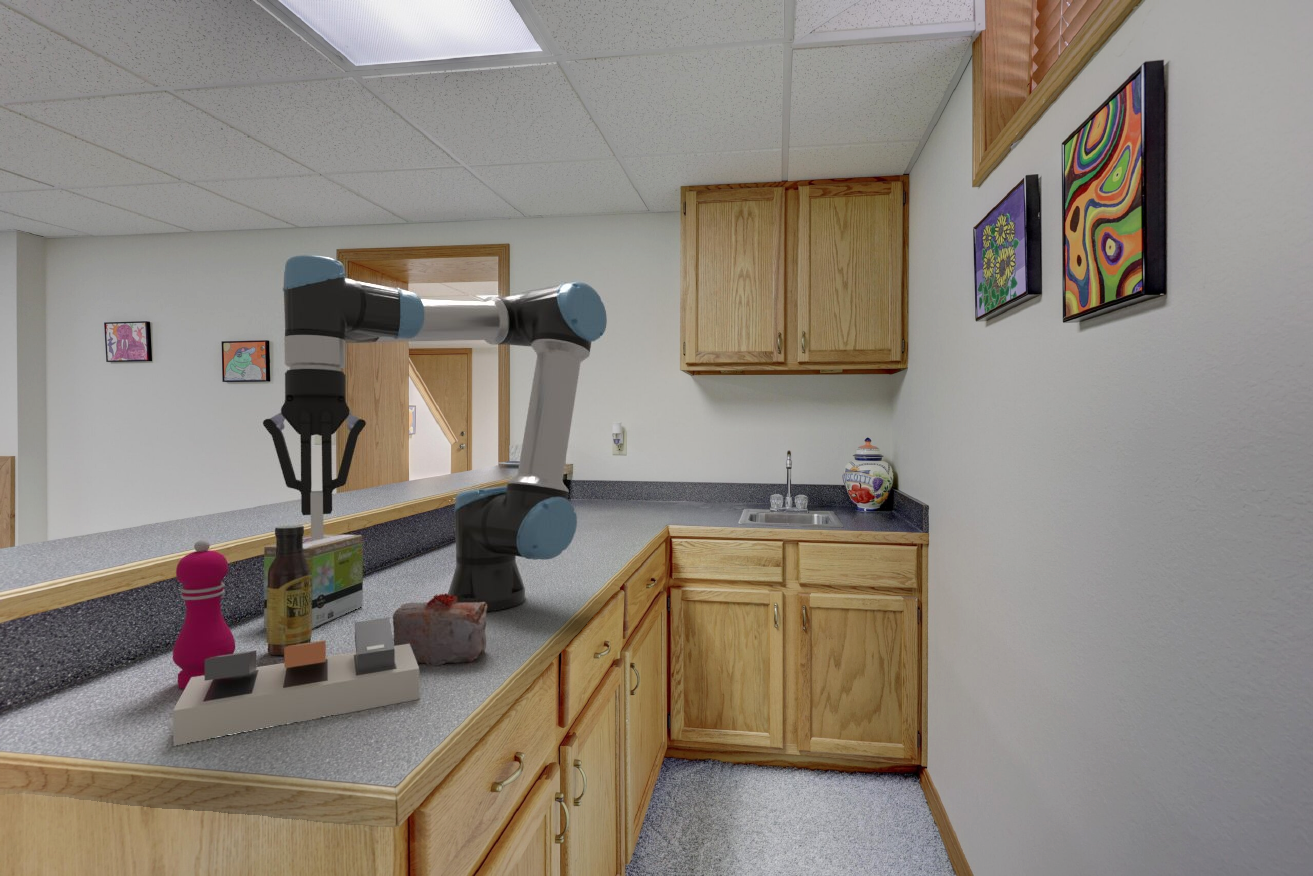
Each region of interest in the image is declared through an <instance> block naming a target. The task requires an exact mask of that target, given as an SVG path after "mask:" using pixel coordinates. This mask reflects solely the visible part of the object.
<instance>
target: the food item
mask: <svg viewBox="0 0 1313 876" xmlns="http://www.w3.org/2000/svg"><path fill="white" fill-rule="evenodd" d="M486 610H487V604H486V602H473V603H468V602H464V603H457V597H456V596H454V595H451V596H450V595H448V593H444V594H443V593H442V594H438V595H437V594H435V595H434V596H433V597H432V598H431V599H430V600H429V601H426V602H424V601H423V602H408V603H404V604H402V605H401V606H400V607H398V608H397V609H396V610H395V611H394V613H393V615H392V622H393V623H392V624H393V625H392V627H393V642H394V646H397V645H404V644H410V646H411V648H412V651H413V654H414V656H415V659H416V661H417V664H418V665H419V664H427V665H428V666H430V667H437V666H441V665H444V664H446V663H447V664H449V663H469V662H473V661H474V660H475V659H478V657H479V655H480V654H481V653H484V652H485V650H486V647H487V636H486V627H487V621H486V619H487V611H486Z"/></svg>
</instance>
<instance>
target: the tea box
mask: <svg viewBox="0 0 1313 876" xmlns="http://www.w3.org/2000/svg"><path fill="white" fill-rule="evenodd" d="M363 545H364V543H363V535H361V534H360V535H359V534H358V535H357V534H332V533H331V534H330V533H329V534H328V533H326V534H325V533H324V536H323V539H315V540H311V535H310V536H307V537H303V554H304V556H305V559H306V562H307V565H308V568H309V570H310V573H311V576H312V585H311V589H312V610H311V613H312V630H313V629H315V628H316V627H318V626H320V625H322V624H325V623H327V622H329V621H332V620H333V619H336V618H337V619H338V618H339V617H341V616H345V615H346V613H347V614H349V613H351V611H352V612H354V611H356V610H355V609H357V608H360V607H363V605H364V604H363V602H364V586H363V584H364V583H363V581H364V580H363V579H364V577H363V576H364V574H363V569H364V568H363V566H364V564H363V563H364V559H363V554H364V553H363V551H364V550H363V549H364V546H363ZM263 550H264V552H263V556H264V558H263V561H264V563H263V564H264V565H263V601H264V603H263V605H264V608H263V626H264V628H267V586H268V570H269V567H270V566H271V564H272V562H273V561H274V559H275V558H276V544H271V545H270V544H269V545H265V546H264V549H263ZM360 609H361V608H360ZM353 610H354V611H353ZM357 610H358V609H357ZM348 612H349V613H348Z"/></svg>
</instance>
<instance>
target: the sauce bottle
mask: <svg viewBox="0 0 1313 876" xmlns="http://www.w3.org/2000/svg"><path fill="white" fill-rule="evenodd" d="M274 528H275V529H274V535H275V539H276V542H275V543H276V558H275V559H274V561H273V562H272V564H271V566H270V567H269V570H268V586H267V627H266V643H267V652H268V654H270V655H272V656H284V648H285V647H287V646H290V645H297V644H304V643H310V642H312V641H311V639H312V634H313V633H312V630H313V629H312V613H311V610H312V589H311V585H312V576H311V573H310V570H309V568H308V565H307V562H306V559H305V556H304V554H303V538H304V534H305V527H304V525H301V524H291V525H290V524H288V525H279V526H276V527H274Z"/></svg>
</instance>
